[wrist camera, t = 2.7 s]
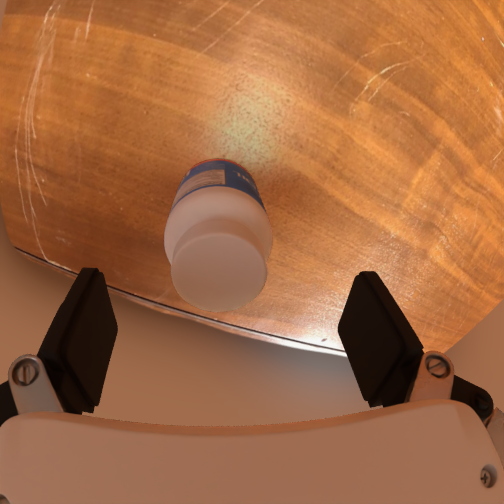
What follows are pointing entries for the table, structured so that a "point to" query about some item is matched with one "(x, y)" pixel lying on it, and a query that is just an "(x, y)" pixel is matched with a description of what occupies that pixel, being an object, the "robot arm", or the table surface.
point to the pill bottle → (218, 237)
